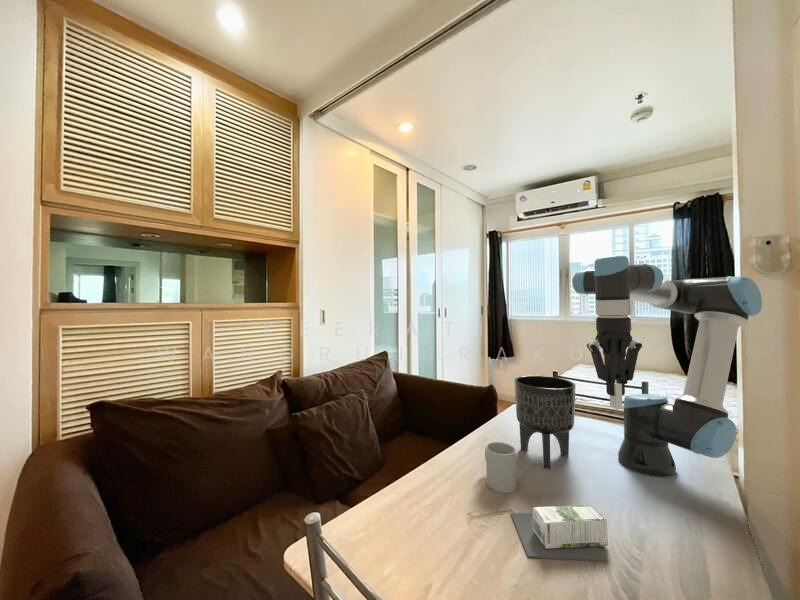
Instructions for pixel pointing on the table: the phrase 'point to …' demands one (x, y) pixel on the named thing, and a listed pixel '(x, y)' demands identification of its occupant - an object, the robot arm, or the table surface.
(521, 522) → the mat
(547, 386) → the planter
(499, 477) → the mug
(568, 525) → the syrup box
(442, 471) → the table surface
